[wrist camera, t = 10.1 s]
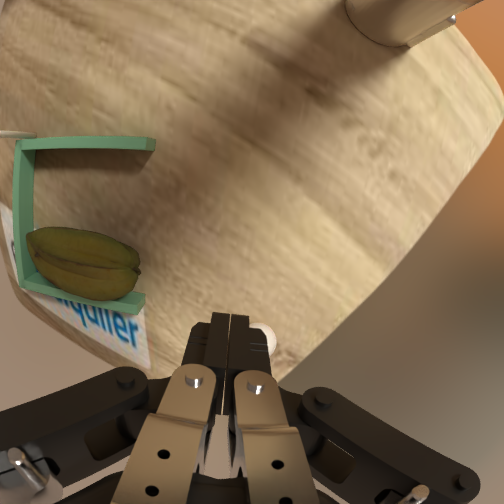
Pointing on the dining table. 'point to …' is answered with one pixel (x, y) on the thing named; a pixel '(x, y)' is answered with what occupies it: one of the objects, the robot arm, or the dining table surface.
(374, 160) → the dining table surface
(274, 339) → the golf ball
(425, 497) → the robot arm
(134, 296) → the mint frame with pennant
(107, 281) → the fruit
